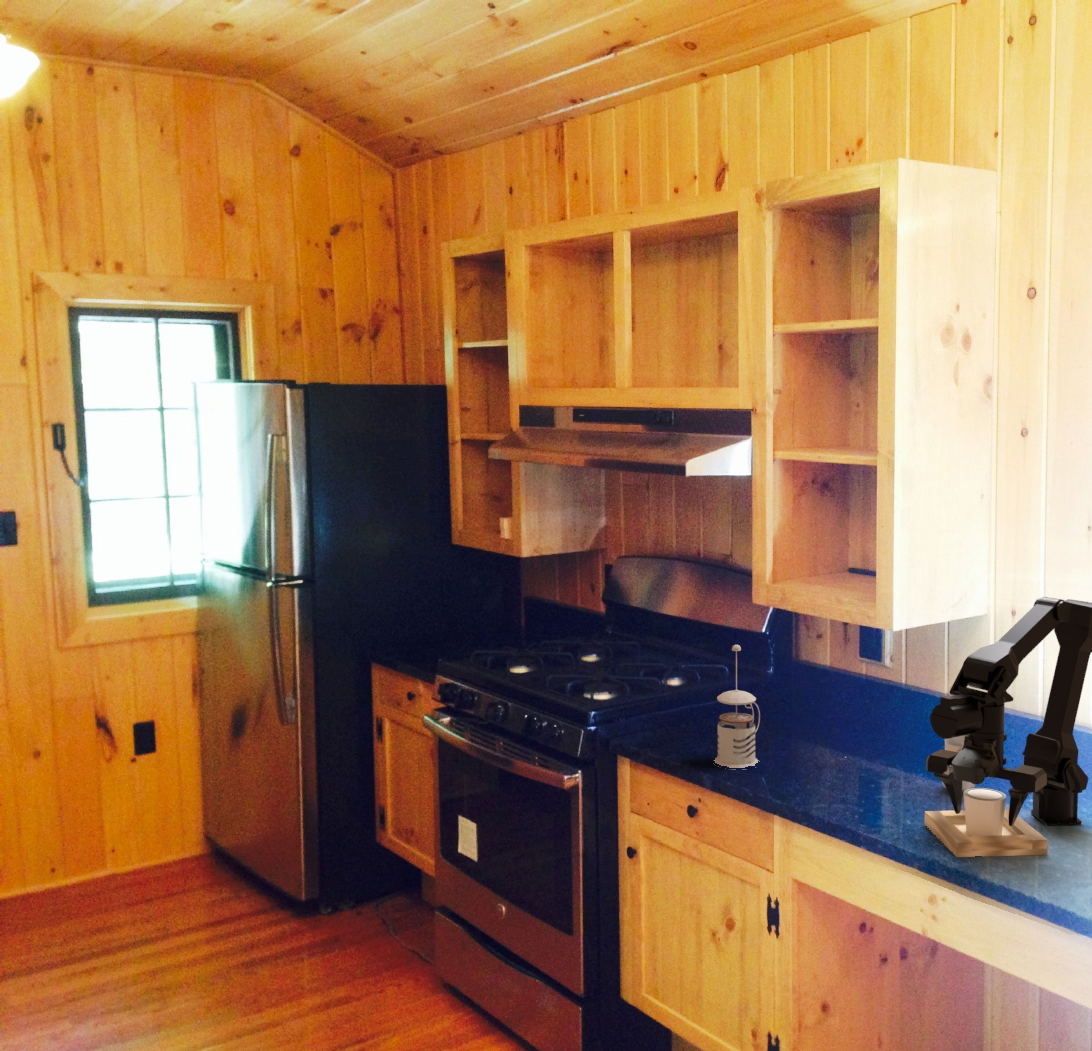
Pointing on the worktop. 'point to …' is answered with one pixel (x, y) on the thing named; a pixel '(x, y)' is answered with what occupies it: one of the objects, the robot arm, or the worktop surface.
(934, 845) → the worktop surface
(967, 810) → the white tapered cup
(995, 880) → the worktop surface
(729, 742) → the french press
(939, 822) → the holder tray
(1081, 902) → the worktop surface
